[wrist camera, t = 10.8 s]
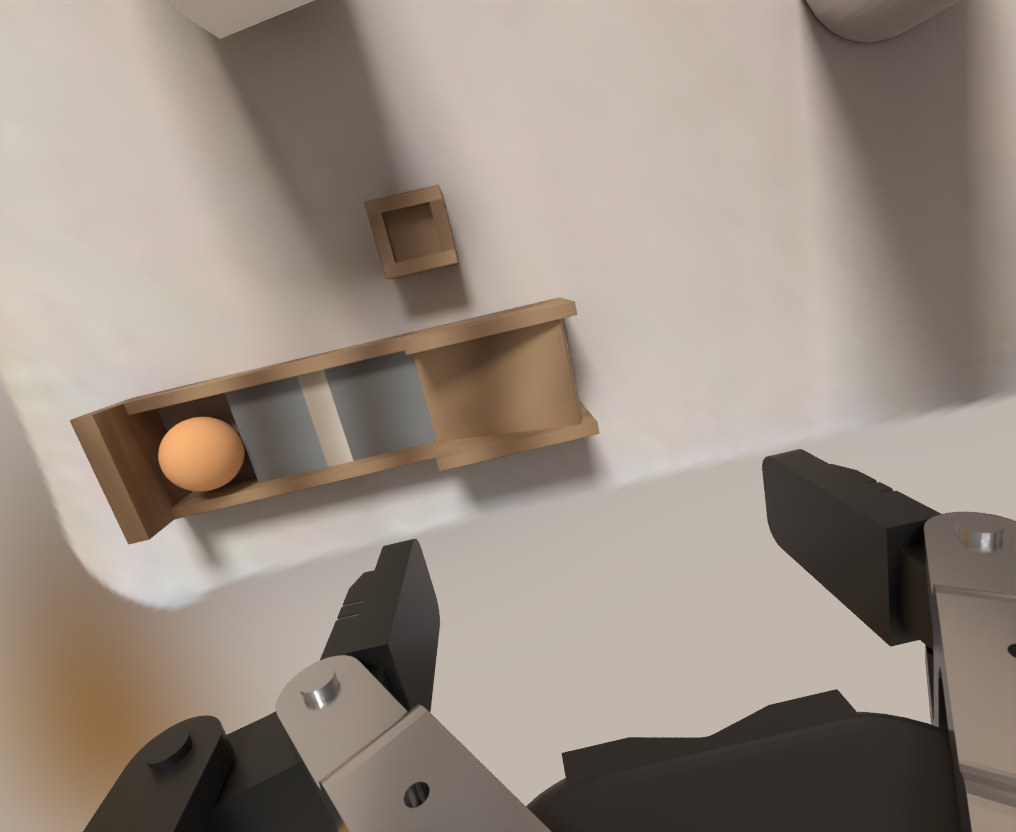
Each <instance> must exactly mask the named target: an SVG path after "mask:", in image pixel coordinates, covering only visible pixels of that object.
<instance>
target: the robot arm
mask: <svg viewBox="0 0 1016 832" xmlns="http://www.w3.org/2000/svg"><path fill="white" fill-rule="evenodd" d="M806 1H807V3H808V5H809V6H810V8H811V10H812V11H813V13H814V14H815V16H816V18H817V19H818V20H819V21H820V22H821V23H823V24H824V25H825V26H826V27H827V28H828V29H829V30H830V31H832V32H834V33H835V34H837V35H839V36H841V37H842V38H845V39H849V40H853V41H857V42H878V41H882V40H886V39H890V38H893V37H895V36H897V35H899V34H901V33H903V32H905V31H907V30H909V29H911V28H913V27H915V26H916V25H918V24H920V23H922V22H923V21H925V20H927V19H929V18H930V17H932V16H934V15H936V14H937V13H939V12H941V11H943V10H945V9H946V8H948V7H950V6H952V5H953V4H955V3H957V2H959V1H960V0H806ZM762 470H763V481H764V491H765V499H766V509H767V519H768V524H769V528H770V531H771V533H772V535H773V537H774V539H775V541H776V542H777V544H778V545H779V546H780V547H781V548H782V549H783V550H784V551H785V552H786V553H787V554H788V555H790V556H791V557H792V558H793V559H794V560H795V561H796V562H797V563H799V564H800V565H801V566H802V567H803V568H804V569H805V570H806V571H807V572H808V573H810V574H811V575H812V576H813V577H814V578H815V579H816V580H817V581H818V582H819V583H821V584H822V585H823V586H824V587H825V588H826V589H827V590H828V591H829V592H831V593H832V594H833V595H834V596H835V597H836V598H838V600H840V601H841V602H842V603H843V604H844V605H845V606H846V607H847V608H848V609H850V610H851V611H852V612H853V613H854V614H855V615H856V616H857V617H858V618H859V619H860V620H862V621H863V622H864V623H865V624H866V625H867V626H868V627H869V628H870V629H872V630H873V631H874V632H875V633H876V634H877V635H878V636H879V637H881V638H882V639H883V640H884V641H885V642H886V643H887V644H888V645H889V646H895V645H899V644H903V643H908V642H912V641H916V640H921V641H922V642H923V643H924V644H925V660H926V673H927V683H928V695H929V706H930V717H931V725H930V724H928V723H924V722H920V721H916V720H912V719H909V718H905V717H899V716H893V715H888V714H879V713H869V712H856V711H855V709H854V708H853V707H852V706H851V705H850V704H849V702H848V701H847V700H846V699H845V698H844V697H843V695H842V694H841V693H840V692H839V691H838V690H837V689H836V690H832V691H827V692H823V693H819V694H815V695H810V696H806V697H802V698H797V699H793V700H789V701H784V702H780V703H776V704H772V705H768V706H766V707H764V708H763V709H761V710H759V711H757V712H755V713H753V714H751V715H749V716H747V717H745V718H744V719H742V720H740V721H738V722H736V723H734V724H732V725H730V726H728V727H727V728H725V729H723V730H721V731H719V732H717V733H715V734H713V735H711V736H708V737H702V738H644V737H643V738H641V737H637V738H636V737H635V738H634V737H631V738H630V737H629V738H625V739H621V740H616V741H612V742H607V743H603V744H599V745H594V746H590V747H586V748H581V749H577V750H573V751H568V752H565V753H562V758H563V764H564V770H565V775H566V778H565V779H563V780H561V781H559V782H558V783H556V784H554V785H553V786H551V787H550V788H548V789H547V790H545V791H544V792H542V793H541V794H540V795H538V796H537V797H536V798H535V799H534V800H533V801H532V802H531V803H529V804H528V805H527V806H525V805H524V804H523V803H521V801H519V799H517V797H515V796H514V795H513V794H512V793H511V792H510V791H509V790H508V789H507V788H506V787H505V786H504V785H503V784H502V783H501V782H500V781H499V780H498V779H497V778H496V777H495V776H494V775H493V774H492V773H491V772H490V771H489V770H488V769H487V768H486V767H485V766H484V765H483V764H482V763H481V762H480V761H479V760H478V759H477V758H475V756H474V755H473V754H471V752H470V751H469V750H468V749H467V748H466V747H465V746H463V745H462V744H461V743H460V742H459V741H458V740H457V739H456V738H455V737H454V736H453V735H452V734H451V733H450V732H449V731H448V730H447V729H446V728H445V727H444V726H443V725H442V724H441V723H440V722H439V721H438V720H437V719H436V718H435V717H434V716H433V715H432V714H431V713H430V710H431V701H432V692H433V683H434V674H435V664H436V656H437V647H438V637H439V628H440V616H439V608H438V603H437V598H436V595H435V591H434V588H433V585H432V582H431V578H430V575H429V572H428V569H427V565H426V562H425V559H424V556H423V552H422V549H421V547H420V544H419V542H418V540H417V539H411V540H407V541H403V542H399V543H394V544H390V545H386V546H383V548H382V551H381V554H380V556H379V559H378V562H377V565H376V568H375V570H374V571H369V572H365V573H363V574H362V575H361V576H360V578H359V579H358V580H357V581H356V582H355V583H354V584H353V585H352V586H351V587H350V588H349V590H348V593H347V595H346V598H345V600H344V603H343V607H342V608H341V610H340V612H339V615H338V617H337V618H338V621H336V622H335V625H334V627H333V629H332V632H331V634H330V637H329V639H328V642H327V644H326V647H325V649H324V652H323V654H322V656H321V659H320V661H318V662H316V663H314V664H312V665H310V666H309V667H307V668H305V669H304V670H302V671H301V672H300V673H298V674H297V675H296V676H295V677H294V678H293V679H292V680H291V681H290V682H289V683H288V684H287V685H286V686H285V688H284V689H283V690H282V692H281V694H280V695H279V698H278V700H277V704H276V712H274V713H272V714H270V715H268V716H266V717H264V718H262V719H260V720H258V721H255V722H253V723H251V724H249V725H247V726H245V727H243V728H240V729H238V730H236V731H234V732H232V733H230V734H228V735H226V733H225V731H224V729H223V727H222V725H221V722H220V721H219V720H218V719H217V718H215V717H213V716H198V717H193V718H190V719H187V720H185V721H182V722H180V723H178V724H176V725H174V726H172V727H170V728H168V729H167V730H165V731H164V732H162V733H160V734H159V735H158V736H156V737H155V738H154V739H152V740H151V741H150V742H149V743H147V744H146V745H145V746H144V747H143V748H142V749H141V750H140V751H139V752H138V753H137V754H136V755H135V756H134V757H133V758H132V759H131V760H130V762H129V763H128V765H127V766H126V767H125V769H124V770H123V772H122V773H121V775H120V776H119V778H118V779H117V781H116V782H115V784H114V786H113V787H112V788H111V790H110V792H109V793H108V794H107V796H106V797H105V799H104V800H103V802H102V804H101V805H100V807H99V808H98V810H97V811H96V813H95V814H94V816H93V817H92V819H91V820H90V822H89V823H88V825H87V826H86V828H85V829H84V831H83V832H1016V521H1014V520H1011V519H1008V518H1004V517H1001V516H997V515H992V514H985V513H977V512H952V513H945V514H941V513H939V512H937V511H935V510H933V509H931V508H929V507H927V506H925V505H923V504H921V503H919V502H917V501H915V500H913V499H912V498H910V497H908V496H906V495H904V494H902V493H900V492H898V491H893V490H892V488H890V487H888V486H886V485H884V484H883V483H880V482H879V483H877V481H876V480H875V479H873V478H871V477H869V476H867V475H865V474H863V473H861V472H859V471H857V470H854V469H850V468H846V467H842V466H837V465H834V464H828V463H826V462H824V461H823V460H821V459H819V458H817V457H815V456H813V455H812V454H810V453H808V452H806V451H804V450H802V449H797V450H793V451H789V452H785V453H780V454H776V455H772V456H768V457H766V458H765V459H764V460H763V464H762Z"/></svg>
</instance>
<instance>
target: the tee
mask: <svg viewBox="0 0 1016 832" xmlns="http://www.w3.org/2000/svg"><path fill="white" fill-rule="evenodd" d="M364 203H365V206H366V210H367V213H368V217H369V220H370V224H371V227H372V231H373V235H374V238H375V242H376V245H377V249H378V252H379V256H380V260H381V263H382V267H383V270H384V274H385V277H386V279H395V278H399V277H403V276H408V275H412V274H416V273H420V272H425V271H429V270H433V269H437V268H442V267H446V266H450V265H454V264H459V261H458V257H457V253H456V249H455V245H454V240H453V236H452V232H451V228H450V224H449V220H448V216H447V212H446V207H445V203H444V199H443V195H442V192H441V189H440V187H439V185H435V186H431V187H426V188H422V189H418V190H414V191H409V192H405V193H401V194H397V195H392V196H388V197H384V198H380V199H375V200H371V201H367V202H364Z"/></svg>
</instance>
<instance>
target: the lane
mask: <svg viewBox="0 0 1016 832" xmlns="http://www.w3.org/2000/svg"><path fill="white" fill-rule="evenodd" d="M574 315H577V311H576V306H575V301H571V300H567V299H563V298H556V299H552V300H547V301H543V302H539V303H535V304H530V305H526V306H522V307H518V308H513V309H509V310H505V311H501V312H496V313H492V314H488V315H484V316H479V317H475V318H471V319H467V320H462V321H458V322H454V323H450V324H445V325H441V326H437V327H433V328H428V329H424V330H420V331H416V332H411V333H407V334H403V335H399V336H394V337H390V338H386V339H382V340H377V341H373V342H369V343H365V344H360V345H356V346H352V347H348V348H343V349H339V350H335V351H330V352H326V353H322V354H318V355H313V356H309V357H305V358H301V359H296V360H292V361H288V362H284V363H279V364H275V365H271V366H267V367H262V368H258V369H254V370H250V371H245V372H241V373H237V374H233V375H228V376H224V377H220V378H216V379H211V380H207V381H203V382H199V383H194V384H190V385H186V386H182V387H177V388H173V389H169V390H165V391H160V392H156V393H152V394H148V395H143V396H139V397H135V398H131V399H128V400H125V401H122V402H119V403H117V404H114V405H111V406H108V407H105V408H103V409H100V410H97V411H94V412H91V413H89V414H86V415H83V416H80V417H77V418H75V419H72V420H70V422H71V424H72V427H73V429H74V431H75V433H76V435H77V437H78V439H79V441H80V443H81V446H82V448H83V450H84V452H85V454H86V456H87V458H88V460H89V462H90V464H91V467H92V469H93V471H94V473H95V475H96V477H97V479H98V481H99V483H100V486H101V488H102V490H103V492H104V494H105V496H106V498H107V500H108V502H109V505H110V507H111V509H112V511H113V513H114V515H115V517H116V519H117V521H118V523H119V526H120V528H121V530H122V532H123V534H124V536H125V538H126V540H127V542H128V544H132V543H137V542H141V541H145V540H149V539H151V538H152V537H153V536H154V535H156V534H157V533H158V532H159V531H160V530H162V529H163V528H164V527H165V526H167V525H168V524H169V523H170V522H172V521H173V520H174V519H178V518H182V517H186V516H191V515H195V514H199V513H203V512H208V511H212V510H216V509H220V508H225V507H229V506H233V505H237V504H242V503H246V502H250V501H254V500H259V499H263V498H267V497H271V496H276V495H280V494H284V493H288V492H293V491H297V490H301V489H305V488H310V487H314V486H318V485H322V484H327V483H331V482H335V481H339V480H344V479H348V478H352V477H356V476H361V475H365V474H369V473H373V472H378V471H382V470H386V469H390V468H395V467H399V466H403V465H407V464H412V463H416V462H420V461H424V460H429V459H433V458H436V463H437V466H438V470H439V471H443V470H447V469H451V468H456V467H460V466H464V465H468V464H473V463H477V462H481V461H485V460H490V459H494V458H498V457H502V456H507V455H511V454H515V453H519V452H524V451H528V450H532V449H536V448H541V447H545V446H549V445H553V444H558V443H562V442H566V441H570V440H575V439H579V438H583V437H587V436H592V435H596V434H599V429H598V423H597V421H596V420H595V419H594V417H593V416H592V415H591V414H590V413H589V411H588V410H587V409H586V408H585V407H584V405H583V404H582V403H581V402H580V401H579V400H578V394H577V389H576V384H575V379H574V374H573V369H572V364H571V359H570V353H569V348H568V343H567V338H566V333H565V328H564V323H563V318H566V317H570V316H574ZM221 393H225V396H226V399H227V401H228V404H229V406H230V409H231V412H232V414H233V417H234V419H235V422H236V425H237V427H238V430H239V432H240V435H241V438H242V440H243V443H244V445H245V448H246V451H247V453H248V456H249V458H250V461H251V464H252V466H253V469H254V471H255V474H256V477H255V478H251V479H246V480H242V481H238V482H233V483H229V484H225V485H223V486H221V487H219V488H216V489H213V490H209V491H195V492H191V490H186V489H183V488H181V487H179V486H177V485H175V484H174V483H172V482H171V481H170V480H169V479H168V478H167V477H166V476H165V474H164V473H163V471H162V469H161V467H160V464H159V459H158V453H159V447H160V444H161V442H162V440H163V438H164V436H165V435H166V431H165V429H164V426H163V424H162V422H161V419H160V417H159V415H158V412H157V410H156V409H157V408H161V407H166V406H170V405H174V404H178V403H183V402H187V401H191V400H195V399H200V398H204V397H208V396H212V395H217V394H221Z"/></svg>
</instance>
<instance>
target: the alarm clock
mask: <svg viewBox="0 0 1016 832" xmlns="http://www.w3.org/2000/svg"><path fill="white" fill-rule="evenodd" d="M165 1H166V2H167V3H169V4H170V5H171V6H173V7H174V8H175V9H177V10H178V11H179V12H180V13H182V14H183V15H184V16H186V17H187V18H188V19H190V20H191V21H192V22H194V23H195V24H197V25H199V26H200V27H202V28H203V29H205V30H207V31H208V32H210V33H211V34H213V35H215V36H216V37H218V38H219V39H221V38H224V37H226V36H229V35H231V34H233V33H236V32H238V31H241V30H243V29H246V28H248V27H251V26H253V25H255V24H258V23H260V22H263V21H265V20H268V19H270V18H273V17H275V16H277V15H280V14H282V13H285V12H287V11H290V10H292V9H295V8H297V7H299V6H302V5H304V4H307V3H309V2H312V1H314V0H165Z"/></svg>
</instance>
